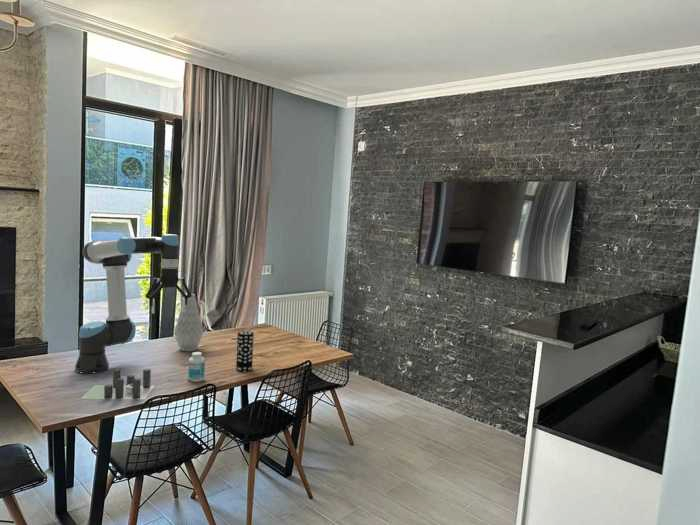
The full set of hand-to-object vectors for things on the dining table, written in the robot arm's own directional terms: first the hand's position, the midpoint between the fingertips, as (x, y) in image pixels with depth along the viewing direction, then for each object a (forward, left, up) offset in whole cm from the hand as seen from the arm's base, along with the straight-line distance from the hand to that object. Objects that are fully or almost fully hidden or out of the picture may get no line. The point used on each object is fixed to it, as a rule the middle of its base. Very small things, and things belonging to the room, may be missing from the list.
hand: (168, 312), depth 236 cm
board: (-17, -14, -35) cm, 41 cm away
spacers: (-14, -14, -34) cm, 39 cm away
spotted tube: (+35, +23, -35) cm, 54 cm away
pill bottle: (+13, +6, -35) cm, 38 cm away
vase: (0, +60, -35) cm, 70 cm away
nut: (-11, -14, -34) cm, 38 cm away
